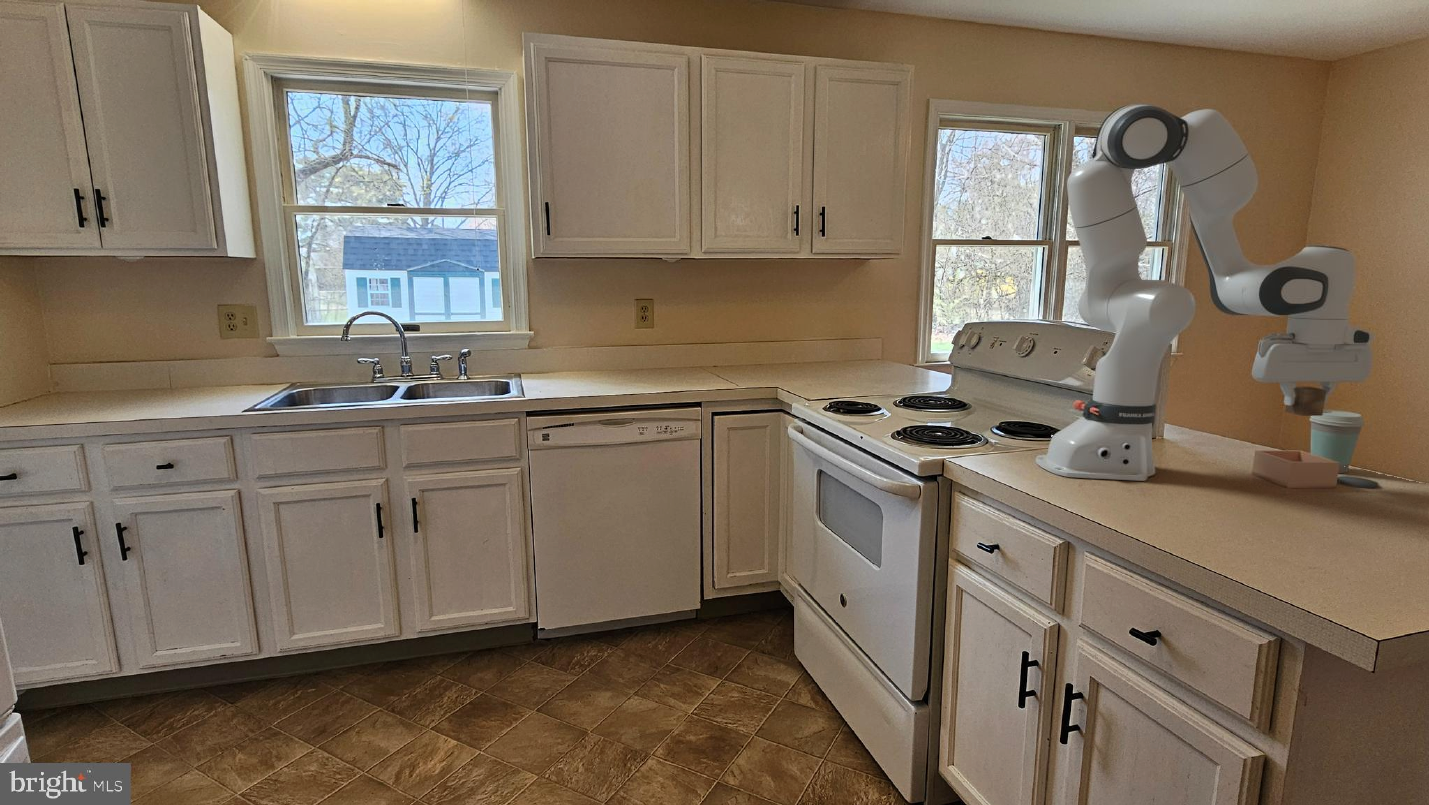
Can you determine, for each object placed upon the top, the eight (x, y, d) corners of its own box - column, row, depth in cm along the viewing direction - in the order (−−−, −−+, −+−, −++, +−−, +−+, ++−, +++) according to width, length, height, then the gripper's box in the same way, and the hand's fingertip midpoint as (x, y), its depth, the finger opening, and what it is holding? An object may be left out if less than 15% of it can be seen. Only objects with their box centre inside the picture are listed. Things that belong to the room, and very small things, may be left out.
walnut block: (1301, 415, 136) (1305, 390, 135) (1285, 411, 140) (1288, 386, 139) (1322, 415, 136) (1326, 389, 135) (1305, 411, 140) (1309, 386, 139)
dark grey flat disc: (1356, 490, 136) (1357, 485, 136) (1327, 481, 142) (1328, 476, 142) (1386, 489, 136) (1387, 484, 136) (1356, 480, 142) (1357, 476, 142)
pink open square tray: (1287, 487, 136) (1291, 462, 135) (1251, 474, 145) (1255, 450, 144) (1335, 487, 136) (1339, 462, 135) (1296, 474, 145) (1300, 450, 144)
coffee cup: (1335, 464, 153) (1344, 409, 150) (1366, 476, 144) (1377, 417, 142) (1292, 463, 153) (1300, 408, 151) (1321, 474, 145) (1330, 417, 143)
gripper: (1273, 335, 132) (1263, 408, 135) (1383, 334, 132) (1371, 407, 135) (1248, 332, 138) (1239, 402, 141) (1353, 331, 139) (1342, 401, 141)
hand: (1304, 405), depth 138 cm, fingers closed on walnut block, 4 cm apart
